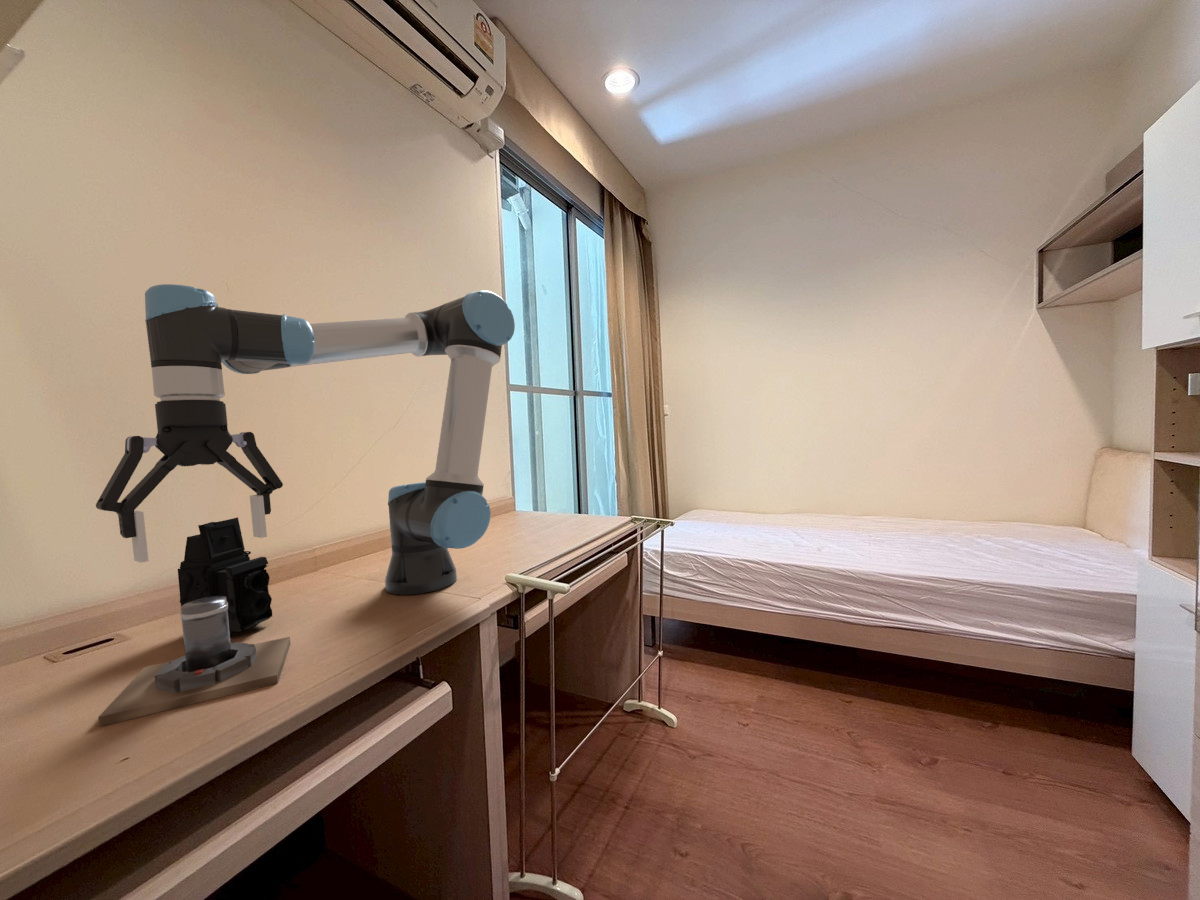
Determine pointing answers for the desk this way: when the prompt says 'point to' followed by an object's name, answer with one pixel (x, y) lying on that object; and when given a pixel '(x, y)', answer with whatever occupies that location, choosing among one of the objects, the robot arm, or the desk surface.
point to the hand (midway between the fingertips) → (205, 547)
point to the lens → (206, 632)
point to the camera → (226, 574)
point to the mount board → (166, 701)
